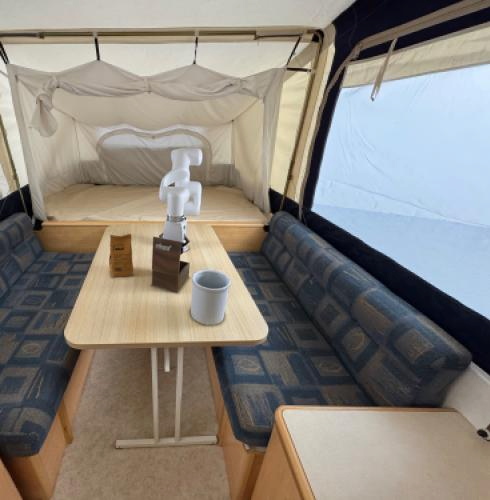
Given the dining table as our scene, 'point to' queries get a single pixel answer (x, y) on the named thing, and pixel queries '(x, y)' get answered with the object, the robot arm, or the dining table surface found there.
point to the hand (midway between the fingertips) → (173, 252)
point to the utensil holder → (209, 296)
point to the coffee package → (120, 256)
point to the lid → (166, 255)
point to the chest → (171, 278)
